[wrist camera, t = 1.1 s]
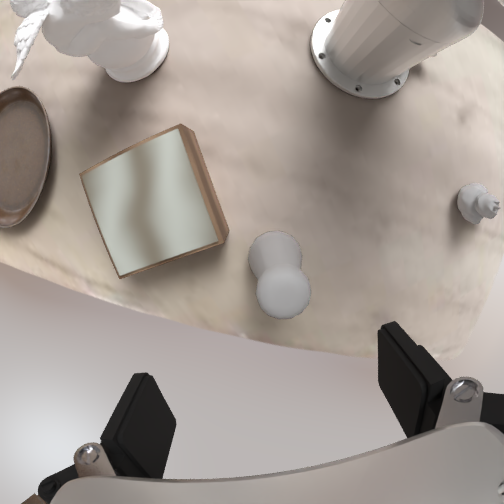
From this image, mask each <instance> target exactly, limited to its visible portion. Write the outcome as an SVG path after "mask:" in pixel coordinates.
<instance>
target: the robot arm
mask: <svg viewBox="0 0 504 504" xmlns="http://www.w3.org/2000/svg"><path fill="white" fill-rule="evenodd" d="M497 1H498V2H500V3H501V4H502V5H503V7H504V0H497ZM483 11H484V0H345V1H344V3H343V5H342V7H341V8H340V10H335V11H333V12H330V13H328V14H326V15H325V16H323V17H322V18H321V19H320V20H319V21H318V22H317V24H316V25H315V27H314V29H313V32H312V35H311V44H310V46H311V52H312V55H313V58H314V61H315V63H316V64H317V66H318V68H319V69H320V71H321V72H322V73H323V74H324V76H325V77H326V78H327V79H328V80H329V81H330V82H332V83H333V84H334V85H335V86H337V87H338V88H340V89H341V90H343V91H345V92H347V93H349V94H351V95H354V96H357V97H361V98H368V99H377V98H383V97H386V96H389V95H391V94H393V93H395V92H396V91H397V90H399V89H400V88H401V87H402V86H403V84H404V83H405V81H406V79H407V77H408V73H409V68H411V67H413V66H415V65H416V64H418V63H420V62H422V61H424V60H425V59H427V58H429V57H435V56H436V55H437V53H438V52H440V51H442V50H444V49H445V48H447V47H449V46H451V45H453V44H455V43H457V42H459V41H461V40H463V39H465V38H467V37H468V36H470V35H471V34H472V33H474V32H475V30H476V29H477V28H478V26H479V25H480V23H481V20H482V16H483ZM326 22H327V23H326ZM319 57H321V58H322V59H320V58H319ZM395 83H396V84H395ZM355 88H357V89H358V91H356V89H355ZM378 382H379V386H380V388H381V390H382V392H383V393H384V395H385V397H386V399H387V401H388V402H389V404H390V406H391V408H392V410H393V412H394V414H395V415H396V417H397V419H398V421H399V423H400V425H401V427H402V428H403V431H404V432H405V434H406V436H407V439H404V440H401V441H399V442H396V443H393V444H390V445H387V446H384V447H381V448H378V449H375V450H372V451H368V452H365V453H362V454H359V455H355V456H352V457H348V458H345V459H341V460H337V461H333V462H329V463H325V464H320V465H316V466H311V467H306V468H301V469H296V470H290V471H284V472H279V473H272V474H264V475H255V476H246V477H236V478H219V479H162V478H163V473H164V470H165V466H166V462H167V458H168V455H169V451H170V447H171V443H172V439H173V436H174V432H175V428H176V419H175V417H174V415H173V414H172V412H171V410H170V408H169V406H168V404H167V403H166V401H165V399H164V397H163V395H162V393H161V391H160V389H159V388H158V385H157V383H156V381H155V379H154V378H153V376H151V375H149V374H148V373H135V374H134V375H133V376H132V378H131V380H130V382H129V384H128V385H127V387H126V389H125V391H124V393H123V395H122V397H121V399H120V401H119V403H118V404H117V406H116V408H115V410H114V412H113V414H112V416H111V418H110V420H109V422H108V424H107V426H106V428H105V430H104V431H103V433H102V435H101V437H100V439H101V443H100V444H98V443H87V444H84V445H83V446H81V447H80V448H79V449H77V451H76V452H75V455H74V463H75V464H74V465H72V466H70V467H68V468H66V469H64V470H62V471H60V472H58V473H55V474H53V475H51V476H49V477H47V478H45V479H44V480H43V481H42V482H41V483H40V485H39V487H38V495H36V494H33V495H32V496H30V497H29V498H28V499H27V500H25V501H24V502H23V503H22V504H504V394H495V393H485V392H483V386H482V384H481V383H480V382H479V381H478V380H476V379H474V378H471V377H460V378H456V379H455V380H452V379H451V378H450V377H449V376H448V374H447V373H446V372H445V371H444V370H443V369H442V367H441V366H440V365H439V364H438V363H437V362H436V361H435V359H434V358H433V357H432V356H431V355H430V354H429V353H428V352H427V350H426V349H425V348H424V347H423V346H422V345H418V346H417V344H416V343H415V342H414V341H413V340H412V339H411V338H410V337H409V335H408V334H407V333H406V332H405V331H404V330H403V329H402V328H401V327H400V326H399V324H398V323H397V322H396V321H393V322H390V323H387V324H384V325H382V326H381V329H380V330H378Z"/></svg>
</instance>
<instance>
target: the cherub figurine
mask: <svg viewBox="0 0 504 504" xmlns="http://www.w3.org/2000/svg"><path fill="white" fill-rule="evenodd" d="M10 4H11V7H12V9H13V11H14V12H16V15H18V16H20V17H23V18H26V19H24V21H23V22H22V24H21V25H20V26H19V27H18V29H17V31H16V36H15V40H14V45H15V46H16V47H17V63H16V68H15V71H14V73H13V74H12V76H11V78H12V80H14V79H15V78H16V77H17V76H18V74H19V73H20V71H21V69H22V66H23V63H24V60H25V59H26V57H27V55H28V53H29V51H30V48H31V46H32V45H33V43H34V40H35V38H36V36H37V34H38V33H39V30H40V28H41V27H42V33H43V35H44V37H45V39H46V40H47V41H48V42H49V43H50V44H51V45H53V46H54V47H55V48H56V50H57V51H59V52H60V53H62V54H66V55H69V56H74V57H84V56H88V57H89V59H90V60H91V61H92V62H93V63H95V64H96V65H98V66H101V67H104V68H105V70H106V72H107V73H108V75H109V76H110V77H111V78H113V79H114V80H116V81H118V82H134V81H137V80H140V79H143V78H144V77H147V76H148V75H150V74H151V73H153V72H154V71H155V70H156V69H157V68H158V66H159V65H160V64H161V63H162V62H163V60H164V59H165V57H166V55H167V53H168V48H169V37H168V35H167V33H166V31H165V30H164V29H163V20H162V18H163V17H162V16H161V11H160V9H159V8H158V7H156V6H154V5H153V4H151V3H150V2H148V1H146V0H10Z"/></svg>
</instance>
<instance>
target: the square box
mask: <svg viewBox="0 0 504 504" xmlns="http://www.w3.org/2000/svg"><path fill="white" fill-rule="evenodd" d="M79 175H80V178H81V181H82V184H83V187H84V190H85V193H86V196H87V199H88V202H89V205H90V208H91V211H92V213H93V216H94V219H95V221H96V224H97V227H98V229H99V232H100V234H101V237H102V240H103V242H104V244H105V247H106V249H107V252H108V254H109V257H110V259H111V261H112V263H113V266H114V268H115V270H116V273H117V275H118V277H119V279H122V278H125V277H128V276H130V275H133V274H136V273H139V272H142V271H145V270H147V269H150V268H153V267H156V266H159V265H162V264H164V263H167V262H170V261H173V260H176V259H179V258H182V257H185V256H187V255H190V254H193V253H196V252H199V251H202V250H205V249H208V248H211V247H214V246H217V245H220V244H222V243H224V242H225V240H226V237H227V235H228V232H229V228H228V225H227V223H226V220H225V217H224V214H223V212H222V209H221V206H220V203H219V201H218V198H217V195H216V192H215V190H214V187H213V184H212V181H211V178H210V176H209V173H208V170H207V167H206V164H205V162H204V159H203V156H202V153H201V150H200V148H199V145H198V142H197V139H196V136H195V133H194V131H192V130H191V129H189V128H187V127H186V126H184V125H183V124H179V125H176V126H174V127H172V128H169V129H167V130H165V131H162V132H160V133H158V134H156V135H154V136H151V137H149V138H147V139H145V140H143V141H141V142H139V143H137V144H134V145H132V146H130V147H128V148H126V149H124V150H122V151H120V152H118V153H117V154H115V155H113V156H111V157H109V158H107V159H105V160H103V161H102V162H100V163H98V164H96V165H94V166H92V167H91V168H89V169H87V170H85V171H84V172H82V173H80V174H79Z"/></svg>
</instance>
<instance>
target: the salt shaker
mask: <svg viewBox="0 0 504 504" xmlns="http://www.w3.org/2000/svg"><path fill="white" fill-rule="evenodd" d="M248 261H249V264H250V267H251V270H252V272H253V273H254V275H255V276H256V278H257V279H258V284H257V289H256V297H257V300H258V302H259V305H260V307H261V309H262V310H263V311H264V312H265V313H266V314H267V315H268V316H271V317H274V318H277V319H289V318H293V317H295V316H296V315H298V314H300V313H302V312H303V310H304V309H305V308H306V307H307V306H308V304H309V301H310V296H311V288H310V283H309V279H308V277H307V276H306V275H305V274H304V273H303V272H302V271H301V263H302V253H301V249H300V245H299V244H298V243H297V241H296V240H295V239H294V238H293V237H292V236H291V235H288V234H286V233H284V232H281V231H271V232H266V233H264V234H263V235H261V236H259V237H257V238H256V240H255V241H254V243H253V244H252V245H251V247H250V250H249V256H248Z"/></svg>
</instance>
